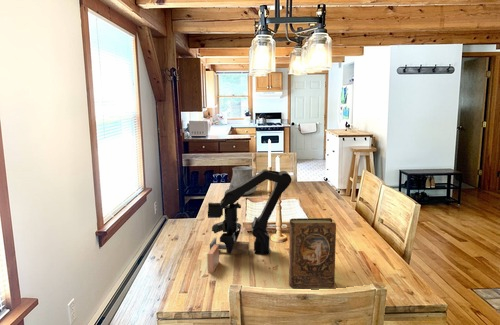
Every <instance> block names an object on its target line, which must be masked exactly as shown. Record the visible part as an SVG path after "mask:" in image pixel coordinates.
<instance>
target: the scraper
mask: <svg viewBox="0 0 500 325" xmlns="http://www.w3.org/2000/svg"><path fill="white" fill-rule="evenodd" d="M214 244H216V245H219V250H222V251H223V250H224V251H225V250H226V251H225V253H226V254H228V251H227V248H226V245H225V243H222V244H221V243H217V237H214V238H213V239H212V240H211V242H210V243H209V251H210V250H211V248H212V247H213V245H214ZM249 254H250V242H249V241H238V240H237V241H235V243H234V246H233V249H232V251H231V254H230V255H243V256H245V255H246V256H248V255H249ZM228 255H229V254H228Z"/></svg>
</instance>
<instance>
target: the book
mask: <svg viewBox="0 0 500 325" xmlns="http://www.w3.org/2000/svg"><path fill="white" fill-rule="evenodd" d="M336 235H337V223H336V222H334V221H333V218H331V217H319V218H318V217H312V218H311V217H310V218H309V217H308V218H307V217H306V218H303V217H302V218H297V217H296V218H290V219H289V244H288V245H289V249H288V252H289V253H288V254H289V255H288V256H289V259H288V260H289V264H288V265H289V267H288V269H289V270H288V287H290V288H291V289H320V288H321V289H322V288H323V289H325V288H326V289H327V288H333V287H335V281H336V280H335V278H336V242H337V241H336V240H337V239H336V237H337V236H336Z"/></svg>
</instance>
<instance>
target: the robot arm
mask: <svg viewBox="0 0 500 325" xmlns="http://www.w3.org/2000/svg"><path fill="white" fill-rule="evenodd" d="M291 176H292V175H290V173H288V172H287V171H286V170H281V171H277V170H269V169H266V168H265V169H262V170H261V171H260V172H259V173H257V174H255V175H254V176H253V177H252V178H250V179H249V180H247V181H246V182H244V183H243V184H241V185H239V186H235V187H232V188H230V189H229V188H227V190H225V191H224V195H223V198H222V199H221V200H220V202H208V204H207V218H208V219H220V218H221V217H222V216H224V220H222V221H219V222H217V223H214V224H213V225H212V226H211V231H212V232H213V234H217V233H219V232H222V234H221V235H220V236H219V242H220V243H222V244H225V245H226V248H227V251H228V255H232V254H231V251H232V249H233V246H234V243H235V241H238V238H239V237H240V233H241V230H242V224H241V223H239V222H238V221H239V218H238V209H241V208H242V205H241V203H239V200H240V199H241V198H242V197H243V196H244V195H243V194H244V193H246V192H247V191H249V190H251V189H252V188H254V187H255V186H257V187H258V185H260V184H262V183H263V182H265V181H271V182H274V185H273V189H272V191H271V193H270V196H269V197H268V199H267V201H266V203H265V205H264V207H263V209H262V210H261V213H260V214H259V216H258V217H257V216H254V218H253V221H252V222H251V223H250V225H251V233H252V236H253V237H254V238H255V240H254V242H253V250H254V254H255V255H269V254H270V251H271V248H270V246H271V245H270V238H271V237H270V234H269V231H268V230H267V228H268V222H269V219H270V218H271V215H272V213H273V211H274V209H275V208H276V206H277V203H278V202H279V200H280V198H281V196H282V194H283V193H284V192H285V191H286V190H287V188H288V187H289V186H290V185H291V183H292V180H293V179H292V177H291Z"/></svg>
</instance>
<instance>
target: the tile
mask: <svg viewBox="0 0 500 325" xmlns="http://www.w3.org/2000/svg"><path fill="white" fill-rule="evenodd" d="M216 244H217V243H216ZM216 244H214V245H213V247H212V248H211V250H210V249H209V251H208V252H207V260H206V261H207V272H208V273H211V274H212V273H214V272H215V270H216V268H217V267H218V264H219V263H220V249H219V245H216Z"/></svg>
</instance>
